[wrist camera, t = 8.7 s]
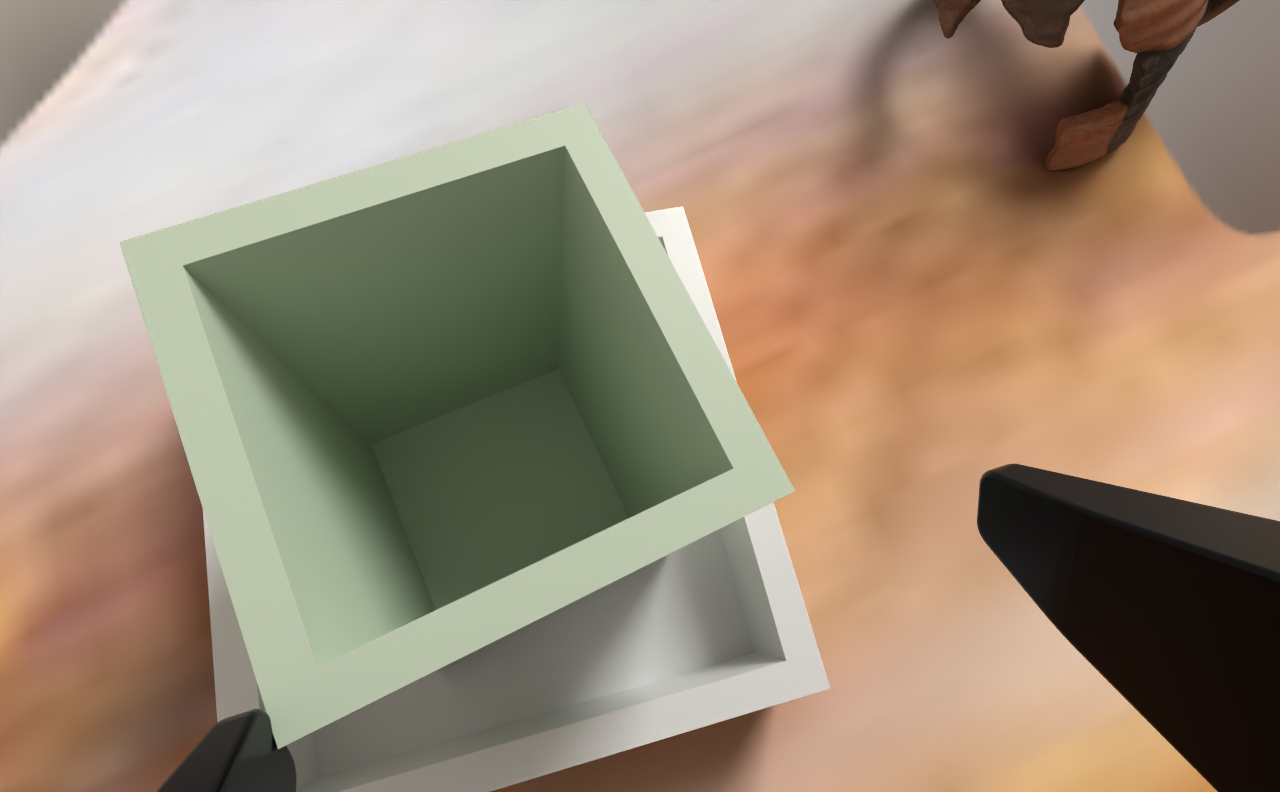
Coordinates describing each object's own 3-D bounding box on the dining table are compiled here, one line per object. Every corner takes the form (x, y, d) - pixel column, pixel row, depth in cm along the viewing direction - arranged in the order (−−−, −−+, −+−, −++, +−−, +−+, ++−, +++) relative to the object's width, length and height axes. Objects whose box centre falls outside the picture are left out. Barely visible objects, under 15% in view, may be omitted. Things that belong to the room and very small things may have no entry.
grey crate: (782, 672, 18) (830, 688, 15) (298, 816, 16) (227, 871, 13) (665, 267, 21) (682, 206, 18) (252, 341, 19) (187, 287, 16)
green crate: (667, 555, 18) (795, 491, 9) (435, 671, 16) (278, 748, 7) (568, 350, 19) (585, 103, 10) (347, 438, 18) (120, 242, 8)
